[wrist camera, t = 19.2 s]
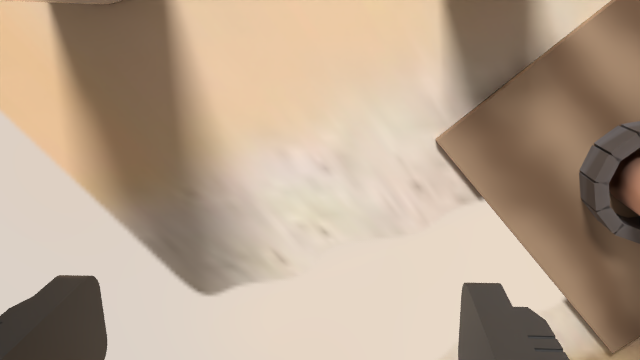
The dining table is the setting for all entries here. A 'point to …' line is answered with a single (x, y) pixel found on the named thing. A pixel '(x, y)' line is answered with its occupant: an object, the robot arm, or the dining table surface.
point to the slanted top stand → (568, 165)
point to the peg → (627, 182)
